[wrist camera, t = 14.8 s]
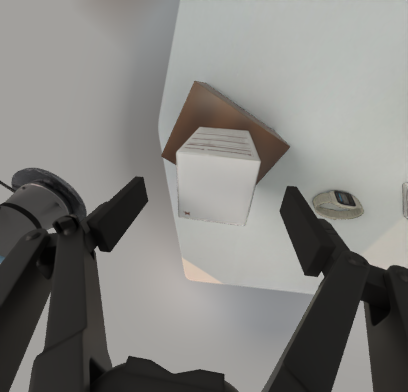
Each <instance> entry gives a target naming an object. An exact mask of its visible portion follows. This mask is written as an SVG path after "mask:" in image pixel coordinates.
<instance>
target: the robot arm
mask: <svg viewBox="0 0 408 392" xmlns="http://www.w3.org/2000/svg"><path fill="white" fill-rule="evenodd" d="M0 184H1V185H2V186H4V187H5V188H7V189H9V190H10V191H12V192H14V194H13V195H12V196H11V197H10V198H9V199H8V200H7V201H6V202H4V203H2V204H0V263H1V264H0V392H9V390H10V388H11V385H12V383H13V380H14V378H15V376H16V373H17V371H18V369H19V366H20V364H21V361H22V359H23V357H24V354H25V352H26V349H27V347H28V344H29V342H30V340H31V337H32V335H33V332H34V330H35V328H36V325H37V323H38V320H39V318H40V316H41V313H42V311H43V309H44V306H45V304H46V302H47V299H48V297H49V294H50V292H51V297H50V306H49V314H48V322H47V330H46V338H45V346H44V350H43V352H42V353H41V354H39V355H37V357H36V359H35V360H34V363H33V367H32V373H31V379H30V385H29V392H238V390H237V389H235V388H234V387H233V386H232V385H231V384H230V383H228V382H226V381H225V380H224V374H222V373H217V372H211V371H206V370H201V369H199V370H194V371H188V372H182V373H177V374H173V373H171V372H169V371H167V370H166V369H164V368H163V367H161V366H160V365H158V364H156V363H155V362H153V361H151V360H147V359H143V358H137V357H132V356H129V357H128V359H127V362H126V363H123V364H120V365H118V366H115V367H113V368H112V363H111V360H110V357H109V354H108V350H107V342H106V334H105V326H104V318H103V310H102V301H101V293H100V285H99V277H98V269H97V261H96V253H95V251H94V249H95V248H96V246H98V247H99V250H100V251H103V252H111V251H112V249H113V248H114V246H115V245H116V244H117V243H118V241H119V240H120V238H121V237H122V236H123V234H124V233H125V232H126V230H127V229H128V228H129V226H130V225H131V224H132V222H133V221H134V220H135V218H136V217H137V215H138V214H139V213H140V211H141V210H142V209H143V207H144V206H145V205H146V203H147V202H148V198H147V193H146V188H145V183H144V178H143V177H135V178H134V179H132V180H131V181H130V182H129V183H128V184H127V185H126V186H125V187H124V188H123V189H122V190H120V191H119V192H118V193H117V194H116V195H115V196H114V197H113V198H112V199H111V200H110V201H108V202H105V203H103V204H101V205H99V206H98V207H97V208H96V209H95V210H94V211H93V212H92V213H90V214H89V215H88V216H87V217H86V218H85V219H84V220H82V221H81V222H80V221H79V219H78V217H77V215H74V214H72V209H71V206H70V204H69V203H68V201H67V200H66V198H65V197H64V196H63V195H62V194H61V193H60V192H58V191H57V190H56V189H54V188H53V187H51V186H49V185H47V184H44V183H41V182H29V183H27V184H25V185H23V186H21V187H20V188H19V189H18V190H17V191H16V190H15V189H13V188H11V187H10V186H8V185H6V184H5V183H3V182H2V181H0ZM280 214H281V216H282V219H283V221H284V224H285V226H286V229H287V232H288V234H289V237H290V239H291V242H292V244H293V247H294V249H295V252H296V254H297V257H298V259H299V262H300V264H301V267H302V269H303V272H304V275H306V276H314V277H318V276H319V274H320V273H321V271H322V273H323V275H324V279H323V280H322V282H321V284H320V285H319V288H318V290H317V291H316V293H315V295H314V297H313V299H312V301H311V302H310V304H309V306H308V308H307V310H306V312H305V314H304V315H303V317H302V319H301V321H300V323H299V325H298V326H297V328H296V330H295V332H294V334H293V336H292V338H291V339H290V341H289V343H288V345H287V347H286V348H285V350H284V352H283V354H282V356H281V358H280V359H279V361H278V363H277V365H276V367H275V369H274V371H273V372H272V374H271V376H270V378H269V380H268V381H267V383H266V385H265V386H264V388H263V390H262V392H331V390H332V387H333V384H334V381H335V378H336V375H337V372H338V368H339V365H340V362H341V358H342V356H343V352H344V349H345V346H346V343H347V339H348V336H349V333H350V330H351V327H352V324H353V321H354V318H355V315H356V311H357V308H358V305H359V302H360V300H361V301H364V309H365V318H366V327H367V337H368V345H369V355H370V364H371V372H372V373H371V374H372V382H373V391H374V392H408V269H407V268H405V267H401V266H398V265H392V266H390V267H389V268H388V269H387V270H385V269H382V268H379V267H376V266H372V265H370V264H369V263H368V261H367V260H366V259H365V258H363V257H362V256H360V255H359V254H357V253H355V252H352V251H350V250H349V248H348V247H347V246H346V244H345V243H344V242H343V240H342V239H341V237H340V236H339V235H338V233H337V232H336V231H335V229H334V228H333V227H332V225H331V224H330V223H329V222H327V221H326V220H325V219H318V218H317V217H316V215H315V214H314V212H313V211H312V209H311V208H310V206H309V205H308V203H307V202H306V200H305V199H304V197H303V196H302V194H301V193H300V191H299V190H298V188H297V187H294V186H287V188H286V191H285V195H284V198H283V201H282V205H281V208H280ZM53 227H54V229H55V230H56V232H57V233H52V234H49V233H48V232H47V230H48V229H50V228H53Z"/></svg>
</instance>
